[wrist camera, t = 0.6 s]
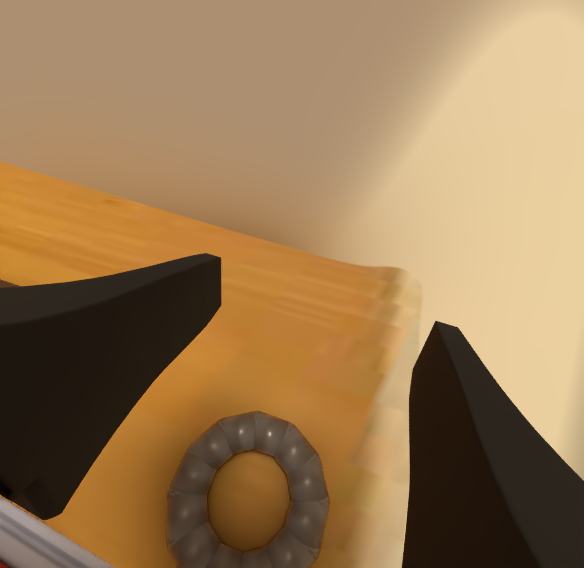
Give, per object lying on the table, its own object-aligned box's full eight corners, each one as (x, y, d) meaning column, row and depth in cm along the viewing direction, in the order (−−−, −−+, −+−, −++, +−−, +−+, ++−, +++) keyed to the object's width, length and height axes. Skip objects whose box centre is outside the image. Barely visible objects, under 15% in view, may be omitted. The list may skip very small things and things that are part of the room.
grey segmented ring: (299, 632, 17) (302, 652, 15) (141, 560, 19) (125, 570, 17) (339, 443, 23) (345, 439, 21) (214, 397, 24) (209, 390, 22)
